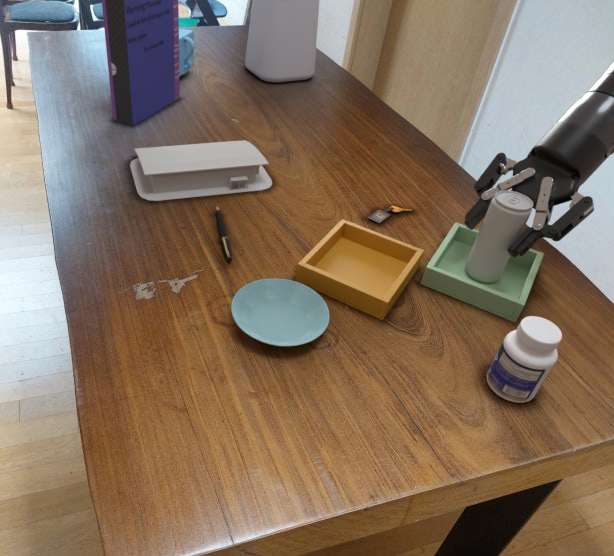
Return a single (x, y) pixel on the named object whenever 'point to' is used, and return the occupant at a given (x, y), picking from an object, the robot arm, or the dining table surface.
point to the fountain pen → (224, 235)
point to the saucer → (280, 312)
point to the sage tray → (488, 296)
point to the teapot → (186, 50)
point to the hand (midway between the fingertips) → (488, 239)
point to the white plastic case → (199, 170)
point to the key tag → (385, 214)
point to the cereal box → (142, 56)
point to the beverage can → (498, 235)
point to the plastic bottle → (282, 39)
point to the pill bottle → (524, 359)
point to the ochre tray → (360, 268)
